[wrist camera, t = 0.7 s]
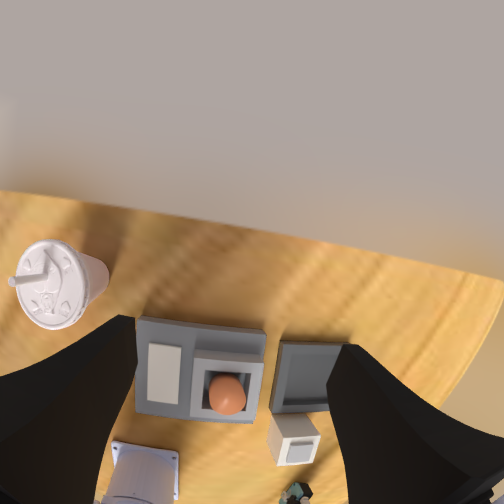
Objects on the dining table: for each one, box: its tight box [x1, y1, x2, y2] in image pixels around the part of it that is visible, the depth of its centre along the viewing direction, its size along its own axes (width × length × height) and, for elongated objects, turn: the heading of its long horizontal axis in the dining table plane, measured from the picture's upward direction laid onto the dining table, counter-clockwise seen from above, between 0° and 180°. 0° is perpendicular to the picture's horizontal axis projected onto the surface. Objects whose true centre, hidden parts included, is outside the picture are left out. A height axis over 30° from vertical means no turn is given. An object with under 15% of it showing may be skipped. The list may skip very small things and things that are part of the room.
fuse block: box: [266, 414, 321, 466], centre depth 26 cm, size 4×4×6 cm
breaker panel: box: [135, 315, 267, 424], centre depth 25 cm, size 10×12×4 cm
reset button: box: [208, 373, 246, 415], centre depth 23 cm, size 3×3×3 cm
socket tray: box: [269, 340, 350, 413], centre depth 28 cm, size 8×8×1 cm
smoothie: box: [9, 239, 109, 330], centre depth 19 cm, size 6×6×14 cm
